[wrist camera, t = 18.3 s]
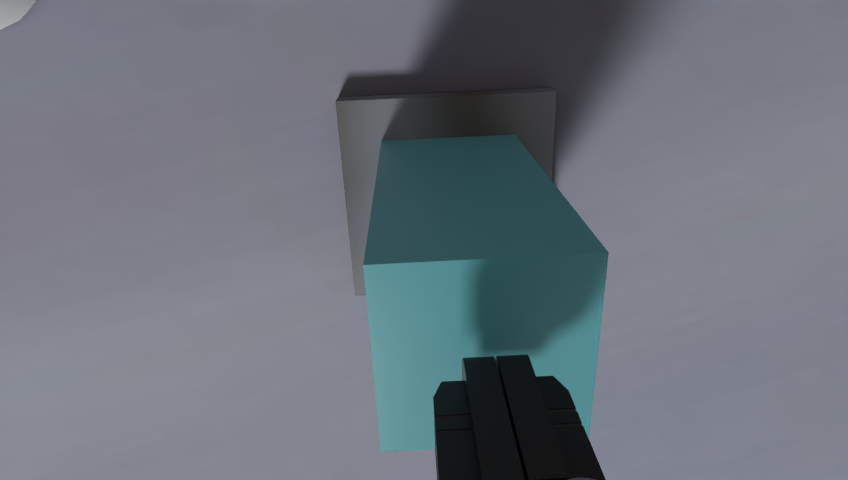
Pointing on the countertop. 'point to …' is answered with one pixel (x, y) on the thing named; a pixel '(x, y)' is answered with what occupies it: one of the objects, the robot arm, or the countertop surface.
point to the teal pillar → (474, 276)
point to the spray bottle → (13, 11)
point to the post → (431, 137)
